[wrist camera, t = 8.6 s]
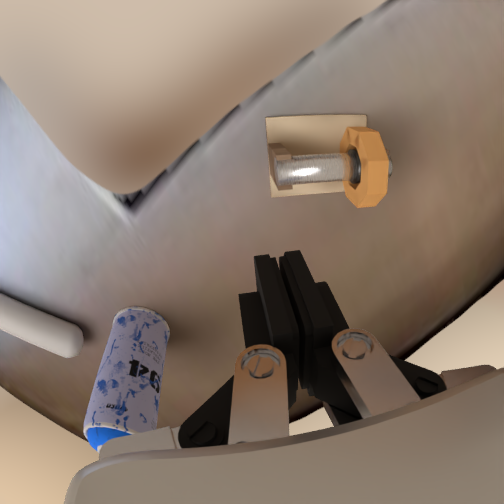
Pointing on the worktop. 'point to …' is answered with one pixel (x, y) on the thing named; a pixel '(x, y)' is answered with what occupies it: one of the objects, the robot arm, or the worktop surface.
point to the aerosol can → (128, 377)
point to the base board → (306, 145)
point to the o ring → (366, 166)
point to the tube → (40, 328)
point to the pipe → (320, 168)
